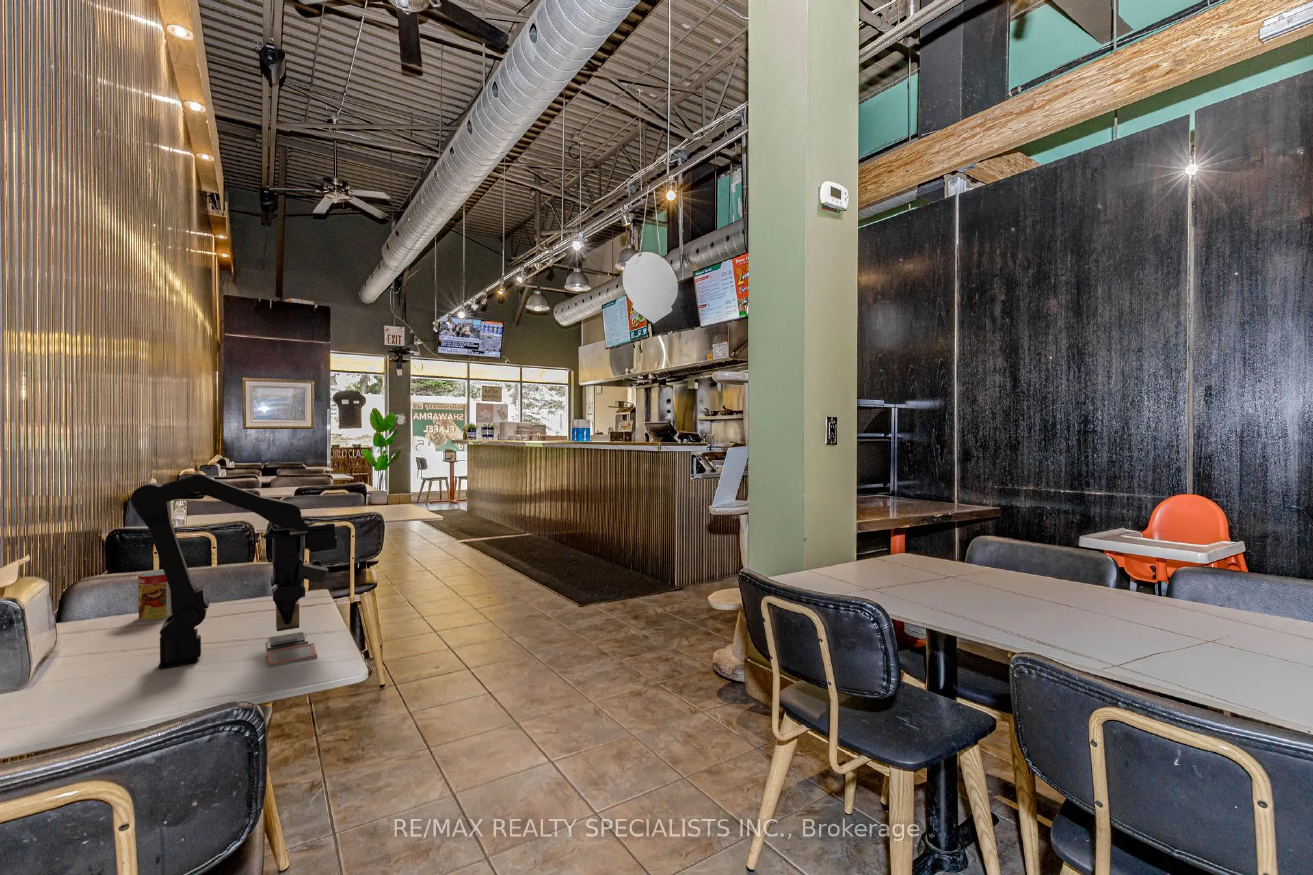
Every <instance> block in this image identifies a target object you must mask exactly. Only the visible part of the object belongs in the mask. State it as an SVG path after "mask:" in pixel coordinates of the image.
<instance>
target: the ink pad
mask: <svg viewBox="0 0 1313 875" xmlns="http://www.w3.org/2000/svg"><path fill="white" fill-rule="evenodd" d="M305 644H309V638H308V635H307V632H306V631H300V632H293V633H286V634H281V635H275V636H270V637H266V650H267V652H268V651H271V650H277V649H283V648H288V647H294V646H300V645H305Z"/></svg>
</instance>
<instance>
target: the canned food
mask: <svg viewBox="0 0 1313 875" xmlns="http://www.w3.org/2000/svg"><path fill="white" fill-rule="evenodd" d="M137 582H138V583H137V584H138V585H137V587H138V588H137V589H138V592H137V595H138V596H137V598H138V599H137V600H138V620H139V621H142V622H144V621H156V620H164V619H168V618H169V617H170V616H171V615H172V611H171V594H170V587H169V585H168V582H167V579H166V576H165V573H164V570H163V568H161V569H154V570H153V569H152V570H147V571H143V572H140V573H138V574H137Z"/></svg>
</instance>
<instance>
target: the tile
mask: <svg viewBox="0 0 1313 875" xmlns="http://www.w3.org/2000/svg"><path fill="white" fill-rule="evenodd" d="M317 658H318V653H317V650H316V646H315V643H314V642H311V643H308V644H305V645H300V646H294V647H288V648H283V649H277V650H271V651H267V661H268V667H274V666H280V665H284V664H291V663H295V662H301V661H306V660H311V659H317Z"/></svg>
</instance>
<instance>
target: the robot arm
mask: <svg viewBox="0 0 1313 875" xmlns="http://www.w3.org/2000/svg"><path fill="white" fill-rule="evenodd" d="M195 493H198V494H201V495H204V496H206V497H209V498H213V499H214V500H215V499H216V500H219V501H221V502H224V503H227V504H229V505H232V506H234V507H239V508H241V509H244V510H247V511H250V512H252V513H254V514H256V515H258V516H259V517H261V518H263V519H264V520H266V521H268V522H270V523H271V524H273V525H275V526H277V527H279V528H281V529H275V528H274V527H272V526H270V527H269V528H268V530H267V531H265V532H264V533H263V534H262V539H264V540H268V539H272V560H271V562H272V575H271V576H270V587H271V592H272V602H274V604H275V607H276V606H277V608H278V610H279V612H280V614H281V616H282V618H283V620H284V622H285V624H290V623H291V621H292V617H293V612H294V608H295V604H296V602H297V601H299V600H300V599H301V598H305V597H306V586H305V585H304V584H303V583H304V580H308V581H313V582H317V583H318V584H324V583H325V581H326V579H327V576H328V573H329V568H328V567H326V566H325V565H323V564H322V562H321V560H317V559H313V560H312V561H311V562H310V563H309V562H307V563H305V562H304V560H303V558H302V552H301V551H302V540H301V539H302V536H303V550H307V551H309V554H314V553H322V552H333V551H337V547H338V544H337V542H338V539H337V538H338V537H337V536H336V535H337V534H336V526H335V523H334V522H328V523H327V522H325V523H323V524H310V525H309V522H308V521H307V520H304V518H303V517H302V511H301V509H300V507H299V506H298V505H297V504H296V503H294V502H292V501H288V500H285V499H278V498H274V497H273V498H272V497H266V496H261V495H258V494H255V493H254V492H252V491H251V492H250V491H248V490H245V489H242V488H239V487H237V486H234V485H231V484H228V483H225V482H224V481H220V480H218V479H216V478H213V477H209V476H208V475H206V474H205V473H200V472H199V473H194V474H192V475H189V476H188V477H184V478H180V479H176V480H173V481H170V482H169V481H168V482H166V483H163V484H160V483H157V482H152V483H151V482H150V483H145V484H143V485H141V486H139V487H138V488H136V489H135V490H134V491H133V492H132V493H131V496H130V503H131V506H132V507H133V508H134V511H135V512H136V513H137V515H138V516H139V518H140V519H141V521H142V522H143V523H144V525H145V526H146V527H147V528H148V530H149V533H150V535H151V538H152V541H153V544H154V548H155V550H156V553H157V556H158V558H159V562H160V563H161V564H160V565H161V567H162V569H163V570H164V573H165V576H166V579H167V582H168V585H169V587H170V594H171V611H172V615H171V616H170V617H168V618H165V620H164V621H163V624H162V626H161V628H160V630H159V632H158V633H159V635H160V636H159V664H158V669H160V670H161V669H166V668H172V667H177V666H183V665H184V666H185V665H189V664H196V663H197V662H198V660H199V658H200V657H201V655H202V636H201V635H200V634H198V633H199V630H198V628H196V627H197V626H199V625H200V624H201V623H203V622H204V620H205V618H206V616H207V611H208V609H209V607H210V602H211V600H210V598H209V597H208V596H207V594H206V586H205V584H203V585H200V586H198V587H197V585H196V584H195V583H194V581H193V579H192V578H191V574H190V572H189V568H188V566H187V563H186V561H185V557H184V554H183V551H182V549H181V545H180V542H179V540H178V537H177V534H176V531H175V528H174V526H173V521H172V504H171V503H172V501H175V500H178V499H180V498H184V497H186V496H189V495H193V494H195ZM282 528H283V529H282ZM290 528H292V529H293V530H295V531H293V532H292V531H290ZM272 587H274V588H272Z"/></svg>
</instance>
